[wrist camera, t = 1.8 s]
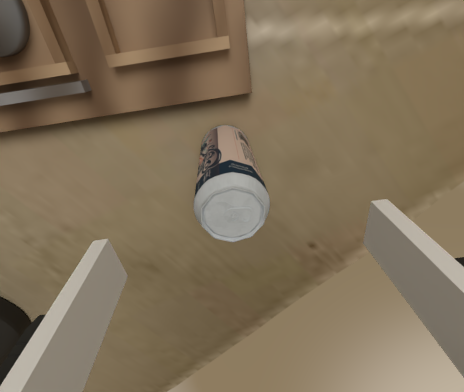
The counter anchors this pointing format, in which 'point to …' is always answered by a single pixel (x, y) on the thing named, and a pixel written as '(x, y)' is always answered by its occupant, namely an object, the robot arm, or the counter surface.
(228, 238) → the beer can
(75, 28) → the housing
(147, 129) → the counter surface
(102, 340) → the robot arm
